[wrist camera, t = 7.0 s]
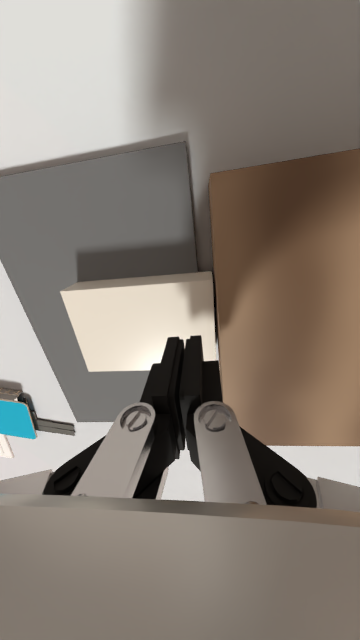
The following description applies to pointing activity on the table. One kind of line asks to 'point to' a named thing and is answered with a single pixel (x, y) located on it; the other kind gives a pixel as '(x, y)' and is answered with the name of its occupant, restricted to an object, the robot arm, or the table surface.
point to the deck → (290, 297)
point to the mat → (94, 252)
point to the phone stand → (22, 421)
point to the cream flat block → (140, 318)
